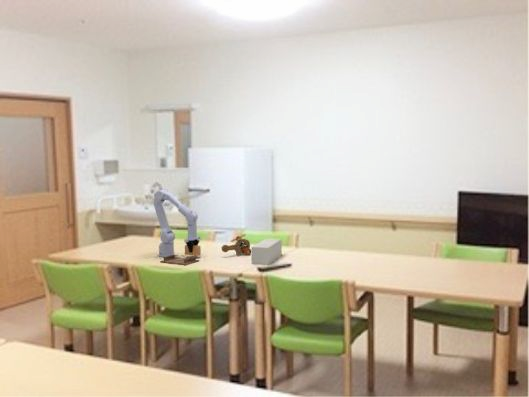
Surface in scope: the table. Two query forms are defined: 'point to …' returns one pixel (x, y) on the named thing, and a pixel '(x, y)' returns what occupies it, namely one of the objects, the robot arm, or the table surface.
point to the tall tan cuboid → (195, 250)
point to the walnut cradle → (179, 260)
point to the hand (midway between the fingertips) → (192, 251)
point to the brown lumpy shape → (239, 246)
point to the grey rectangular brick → (266, 251)
